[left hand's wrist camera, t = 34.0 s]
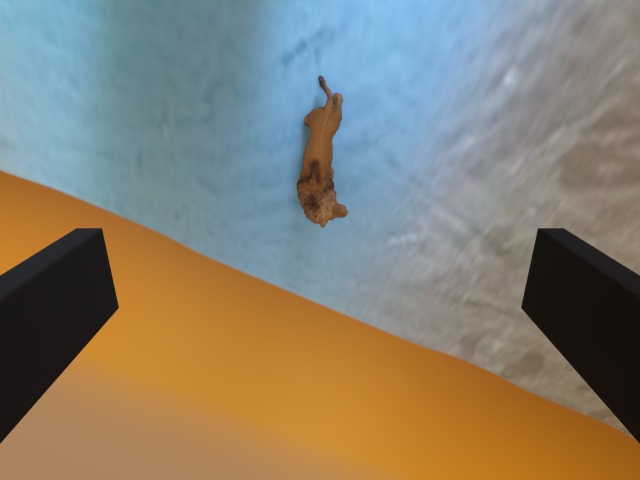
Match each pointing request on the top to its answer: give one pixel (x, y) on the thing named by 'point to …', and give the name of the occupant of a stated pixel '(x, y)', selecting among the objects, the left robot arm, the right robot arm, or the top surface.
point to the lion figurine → (321, 162)
